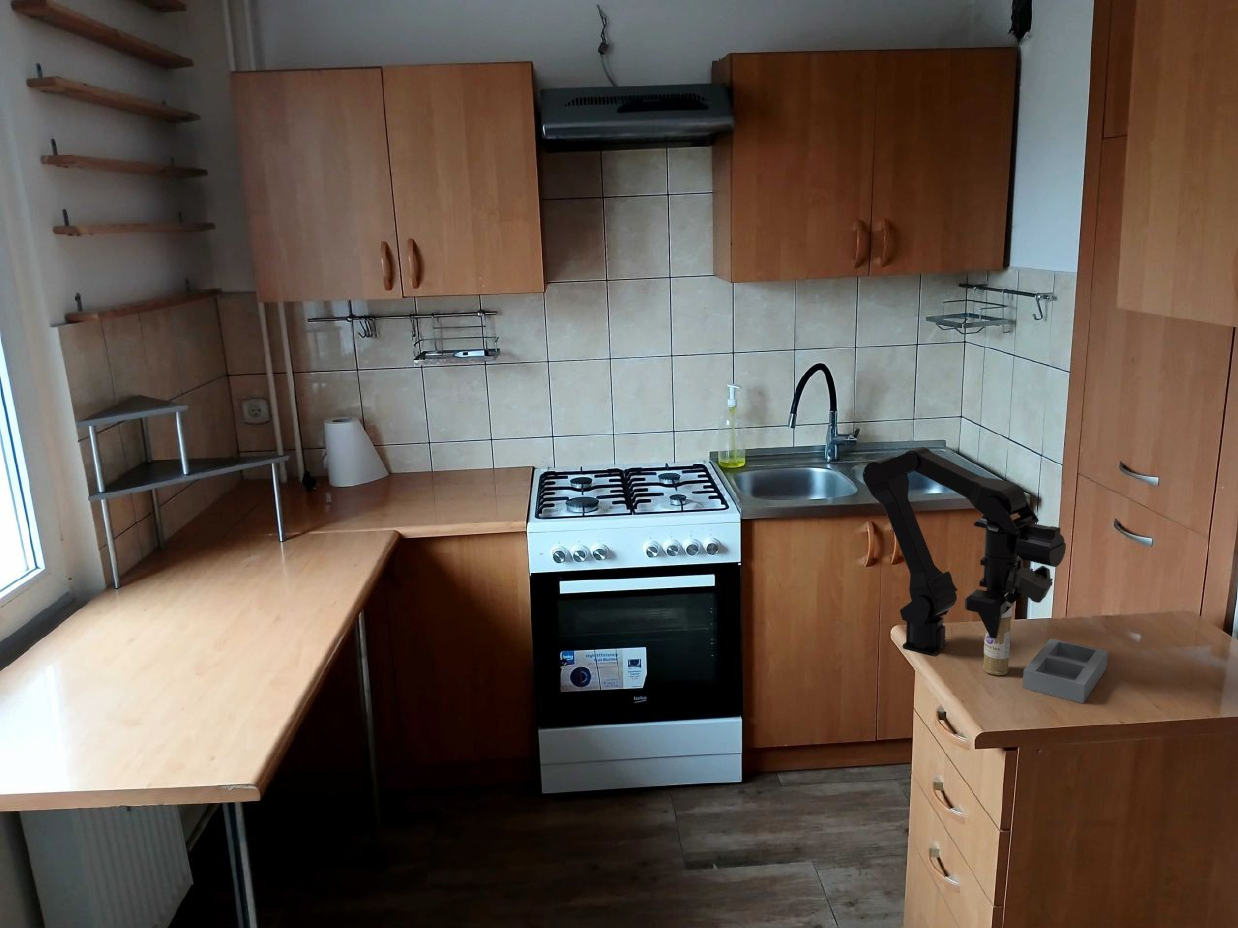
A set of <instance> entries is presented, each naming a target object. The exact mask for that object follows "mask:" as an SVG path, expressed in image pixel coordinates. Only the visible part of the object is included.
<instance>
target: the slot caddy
mask: <svg viewBox="0 0 1238 928" xmlns="http://www.w3.org/2000/svg"><path fill="white" fill-rule="evenodd" d="M1107 664H1108V650H1105V649H1101V648H1100V649H1099V648H1095V647H1092V646H1087V645H1082V644H1078V643H1072V642H1068V641H1063V640H1060V639H1054V638H1049V639H1048V640H1047V642H1046V643H1044V645H1043V647H1041V649H1040V650H1039V651H1038V652H1037V653H1036V655H1035V656H1034V657H1033V658H1032V660H1031V661H1030V662H1029V663H1028V664H1027V665H1026V667H1025V668H1024V669H1023V673H1022V674H1023V678H1022V689H1024V690H1029V691H1032V692H1036V693H1037V692H1038V693H1040V694H1045V695H1049V696H1053V697H1057V698H1060V699H1065V700H1067V701H1072V702H1076V703H1079V704H1084V703H1085V702H1086V700H1087V698H1088V697H1089V695H1091V692H1092V691H1093V689H1094V688H1095V687H1096V685H1097V683H1098V682H1099V680H1101V677H1102V676H1103V674H1104V672H1106V669H1107V666H1108V665H1107Z"/></svg>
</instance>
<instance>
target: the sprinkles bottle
mask: <svg viewBox="0 0 1238 928" xmlns="http://www.w3.org/2000/svg"><path fill="white" fill-rule="evenodd" d="M1007 606H1009V607H1011V608H1010V609H1009V610H1008V611H1007V612H1006V613H1004V614H1002V617H1001V622H1000V626H999V630H998V634H997V638H991V637H990V636H989V634H988V632H987V630H986V628H984V629H985V631H984V642H983V643H984V644H983V665H982V669H983V671H985V673H987V674H990V675H993V676H1004V675H1006V674H1008V673H1009V669H1010V668H1009V662H1010V661H1009V660H1010V659H1009V658H1010V649H1011V648H1010V646H1011V624H1012V623H1011V622H1012V616H1013V607H1012V604H1011V603H1009V602H1007Z"/></svg>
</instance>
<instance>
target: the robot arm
mask: <svg viewBox="0 0 1238 928" xmlns="http://www.w3.org/2000/svg"><path fill="white" fill-rule="evenodd" d="M913 472H915V473H917V474H919V475H921V476H923V477H925V478H927V479H929V480H931V481H933V482H934V483H937V484H939V485H941V486H943V487H945V488H947V489H948V490H950V491H953V492H954V493H956V494H958V495H960V496H962V497H964V499H965V498H966V499H967V501H969V502H970V504H971V505H972V506H973V508H974V509H975V510H976V511H978V512H979V513H981V514H982V516H981V517H980V518H979V519H978V520H977V521H974V522H973V526H974V527H977V528H981V529H985V531H984V551H983V552H984V554H983V555H984V556H983V557H982V558H981V559H980V561H979V562H980V563H979V565H980V566H983V577H982V578H981V579H980V580H979V583H978V584H979V585H978V586H979V587H982V588H986V590H983V589H979V588H978V589H977V588H976V590H974V591H973V592H971V593H970V594H969V595H968V596H966V598H965V599H964V600H965V601H964V609H965V610H966V611H969V612H974V613H977V615H979V618H980V619H981V622H982V623H983V625H984V627H985V628H984V629H986V630H987V632H988V634H989V636H990V637H991V638H997V634H998V630H999V626H1000V622H1001V617H1002V614H1004V613H1006V612H1007V611H1008V610H1009V609H1010V608H1011V607H1009V606H1007V602H1009V603H1011V604H1012V608H1013V606H1014V605H1015V602H1016V601H1018V600H1020V599H1021V598H1022V597H1023V596H1025V597H1027V598H1029V599H1030V601H1032V602H1034V603H1038V604H1039V603H1041V602H1042V601H1043V600H1044V599H1045V598H1046V596H1047V594H1048V593H1049V591H1050V589H1051V587H1052V586H1053V579H1054V578H1051V569H1050V568H1049V567H1052V568H1057V567H1058V566H1059V565H1061V563H1062V561H1063V559H1064V557H1065V554H1066V549H1067V543H1066V542H1065V538H1064V536H1063V535H1062V534H1061V528H1060V527H1058V526H1053V525H1051V526H1049V525H1044V524H1039V518H1038V517H1037V514H1036V513H1035V511H1034V510H1033V508H1032V507H1031V505H1030V502H1028V500H1027V496H1026V493H1025V490H1024V489H1023V488H1022V487H1021V486H1020V485H1018V484H1016V483H1013V482H1009V481H1006V480H1003V479H998V478H992V477H991V478H990V477H985V476H982V475H979V474H977V473H975V472H973V471H971V470H968V469H967V468H965V467H963V466H961V465H959V464H957V463H955V462H952V461H951V460H948V459H946V458H944V457H942V456H940V455H938V454H936V453H934V452H933V451H931V450H930V449H929V448H927V447H923V446H919V447H916V448H913V449H909V450H907V451H906V452H904V453H903V454H901V455H898V456H891V455H890V456H887V457H883V458H880V459H876V460H873V461H870V462H868V463H867V464H866V465H865V466H864V469H863V471H862V475H861V476H862V480H863V483H864V484H865V485H866V488H867V490H868V491H869V493H870V495H871V496H872V497H873V498H874V499H875V500H876V501H878V503H880V504H881V505H882V506H883V508H884V511H885V513H886V515H887V518H888V520H889V523H890V526H891V529H892V531H893V533H894V536H895V538H896V542H897V544H898V546H899V548H900V551H901V554H902V557H903V558H904V561H905V563H906V566H907V569H908V572H909V575H910V576H909V586H908V593H909V596H910V600H911V601H910V602H908V603H907V604H906V605H905V606H903V607H902V608H901V609H899V612H900V616H901V619H902V621H904V622H905V623H906V624H905V625H906V628H905V630H906V631H905V642H904V643H903V644H902V648H903V649H907V650H911V651H914V652H919V653H922V654H927V655H930V656H935V655H936V654H937V653H938V652H939V651H940V650H941V649H942V648H944V647H945V645H947V644H946V643H947V641H946V626H945V625H944V617H943V616H946V615H948V613H949V611H950V609H952V608H953V607H954V606H955V604H956V601H958V599H957V598H958V597H957V596H958V595H957V591H958V588H957V587H956V586H955V583H954V581H953V577H952V575H951V573H950V571H948V570H947V571H945V572H942V571H941V570H940V569H939V568H938V567H937V566H936V565H935V562H934V560H933V558H932V555H931V553H930V550H929V547H928V545H927V542H926V540H925V537H924V535H923V532H922V529H921V528H920V524H919V523H918V520H917V517H916V515H915V512H914V510H913V507H912V505H911V502H910V499H909V488H910V487H909V486H910V481H909V480H910V479H909V476H908V474H911V473H913ZM1016 515H1018V517H1017V518H1015V519H1013V517H1014V516H1016ZM1024 561H1027V562H1028V561H1029V562H1031V563H1036V564H1039V565H1040V564H1041V566H1039V567H1038V568H1036V569H1035V570H1034V568H1032V567H1031V568H1030V569H1029V568H1027V567H1024ZM1048 566H1049V567H1048Z"/></svg>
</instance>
